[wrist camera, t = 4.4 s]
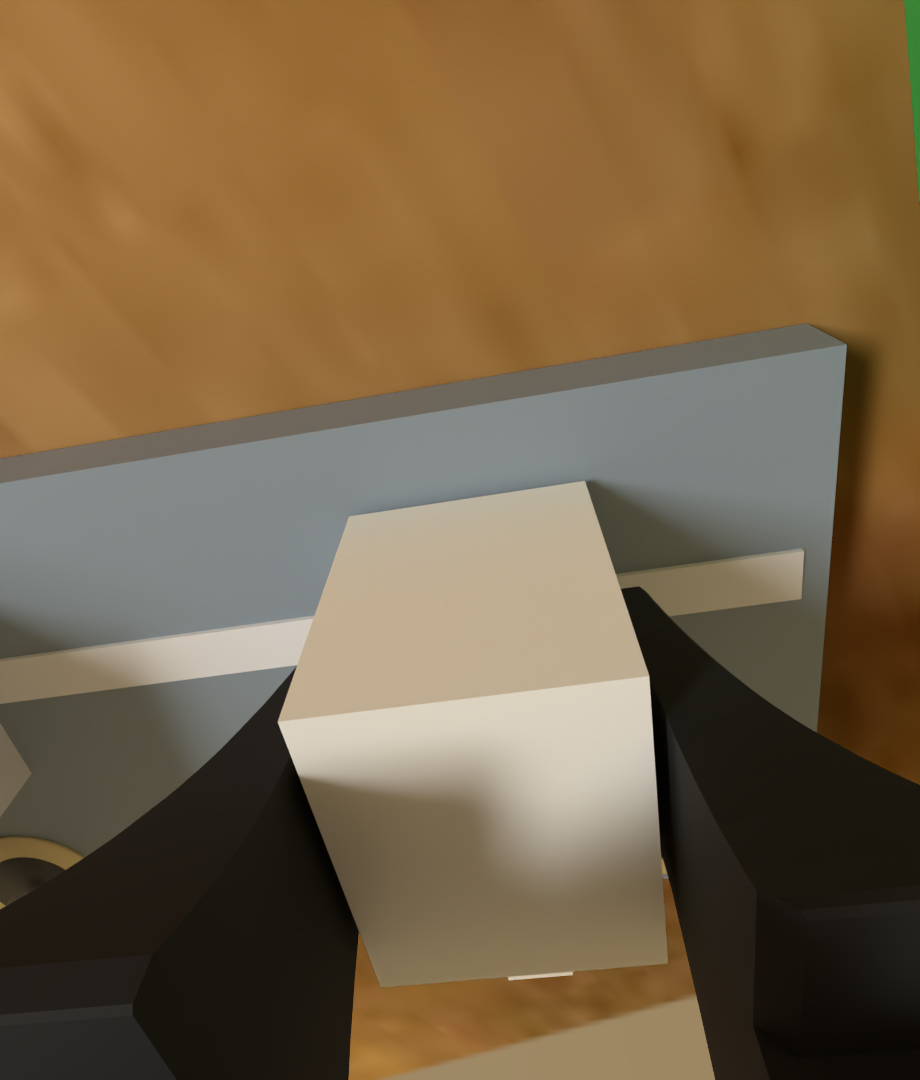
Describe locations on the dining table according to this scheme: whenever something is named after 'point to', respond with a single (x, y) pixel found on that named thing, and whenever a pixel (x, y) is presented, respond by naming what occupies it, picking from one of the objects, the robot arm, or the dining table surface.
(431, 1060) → the dining table surface
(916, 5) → the pipe clamp
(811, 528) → the plate
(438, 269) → the dining table surface
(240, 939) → the robot arm
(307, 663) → the block
